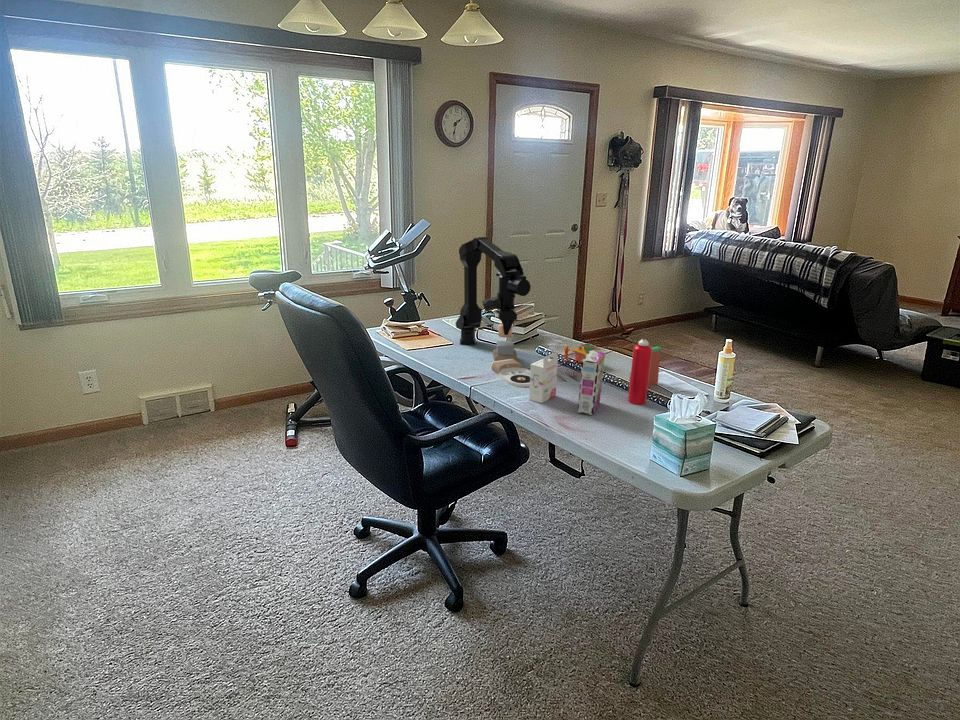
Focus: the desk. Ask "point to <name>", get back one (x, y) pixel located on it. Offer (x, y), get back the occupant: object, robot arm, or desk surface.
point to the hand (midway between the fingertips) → (505, 332)
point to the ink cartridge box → (543, 378)
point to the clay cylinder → (501, 331)
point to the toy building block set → (653, 375)
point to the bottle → (640, 373)
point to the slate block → (505, 348)
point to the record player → (512, 372)
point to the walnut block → (503, 356)
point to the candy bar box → (591, 382)
